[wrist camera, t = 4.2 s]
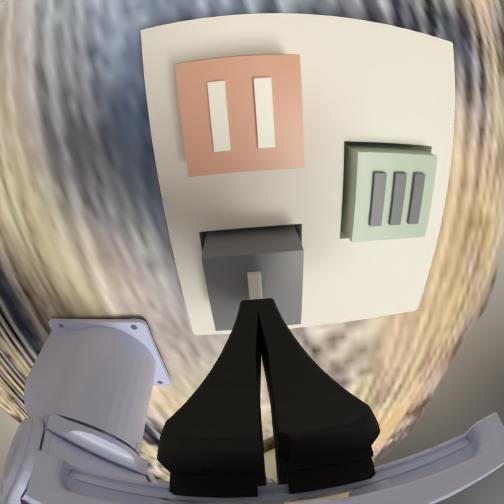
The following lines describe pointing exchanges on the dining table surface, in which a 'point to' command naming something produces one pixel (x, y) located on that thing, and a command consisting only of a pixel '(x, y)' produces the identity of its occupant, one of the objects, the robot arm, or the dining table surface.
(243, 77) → the key two
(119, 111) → the dining table surface
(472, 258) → the dining table surface
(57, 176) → the dining table surface
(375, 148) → the key three
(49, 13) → the dining table surface
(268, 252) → the key one
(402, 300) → the key panel
